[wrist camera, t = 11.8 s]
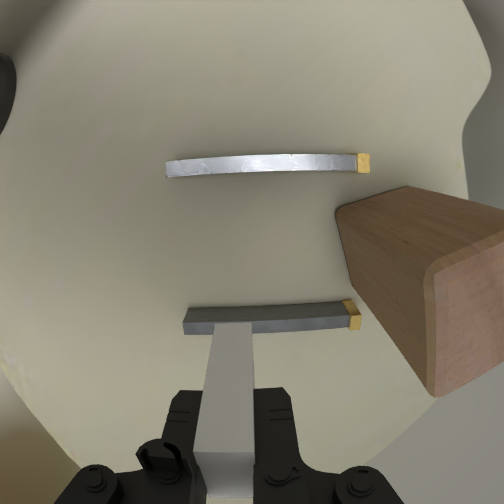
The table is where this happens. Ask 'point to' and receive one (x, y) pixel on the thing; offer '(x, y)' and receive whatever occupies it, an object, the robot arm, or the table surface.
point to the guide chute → (276, 315)
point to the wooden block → (431, 279)
